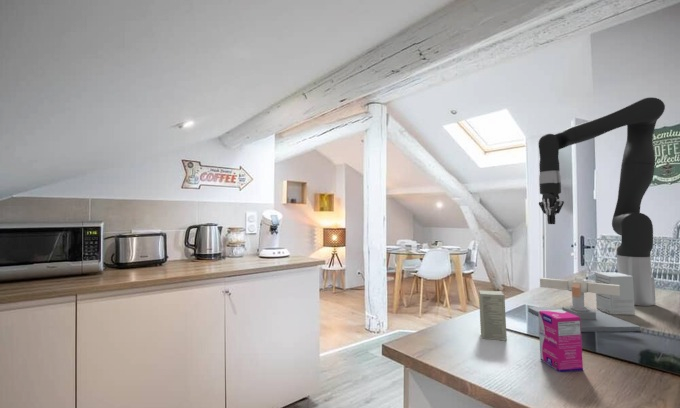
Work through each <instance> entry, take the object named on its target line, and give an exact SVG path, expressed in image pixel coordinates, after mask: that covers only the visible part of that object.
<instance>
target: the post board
mask: <svg viewBox="0 0 680 408" xmlns="http://www.w3.org/2000/svg"><path fill="white" fill-rule="evenodd" d="M571 298H572V299H571V302H572V303H571V304H572V305H570V306H542V307H541V306H539V307H538V306H535V307H534V306H533V307H527V308H528V312H530V313H532V314H534V315H536V316H537V317H539V314H538V311H544V310H558V309H561V310H563V311H566V312H568V313H571V314H573V315H576V316H578V317H580V322H581V333H582V332H583V333H585V332H594V333H595V332H640V331H641V330H642V329H641V328H642V327H641V326H640V325H637V324H634V323H633V322H629V321H627V320H624V319H621V318H618V317H616V316H613V315H612V314H609V313H608V314H607V313H606V312H604V311H601V310H596V309H595V308H591V307H589V306H585V293H581V295H580V298H579V297H572V296H571Z"/></svg>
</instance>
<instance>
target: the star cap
mask: <svg viewBox="0 0 680 408" xmlns="http://www.w3.org/2000/svg"><path fill="white" fill-rule="evenodd" d="M539 287H540V288H547V289H555V290H564V291H569V292H571V298H572V297H579V298H580V295H581V293H584V294H587V293H591V294H596V293H599V294H609V295H618V296H620V286H619V285H614V284H603V283H595V282H590V281H586V280H583V276H577V275H575V277H574V279H559V278H558V279H557V278H548V277H540V278H539Z"/></svg>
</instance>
